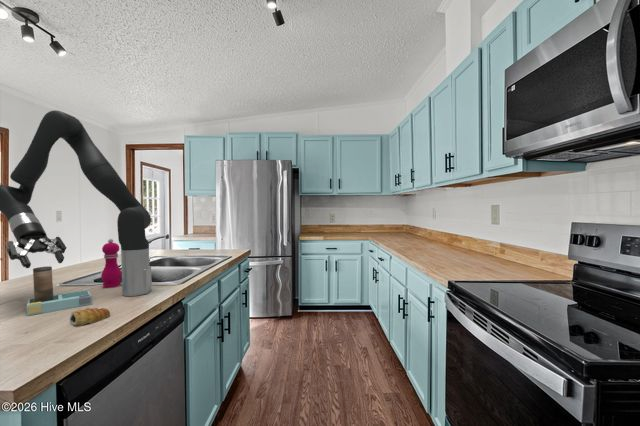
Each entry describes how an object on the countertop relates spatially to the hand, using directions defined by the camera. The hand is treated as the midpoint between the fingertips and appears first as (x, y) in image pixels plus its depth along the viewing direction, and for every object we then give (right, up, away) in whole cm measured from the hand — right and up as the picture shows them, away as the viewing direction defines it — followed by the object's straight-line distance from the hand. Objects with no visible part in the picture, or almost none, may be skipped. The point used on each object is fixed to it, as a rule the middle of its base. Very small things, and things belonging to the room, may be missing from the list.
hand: (45, 264), depth 100 cm
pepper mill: (+2, -14, +29) cm, 32 cm away
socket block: (+2, -15, +3) cm, 15 cm away
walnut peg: (-1, -14, +1) cm, 14 cm away
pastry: (+22, -15, -10) cm, 29 cm away
